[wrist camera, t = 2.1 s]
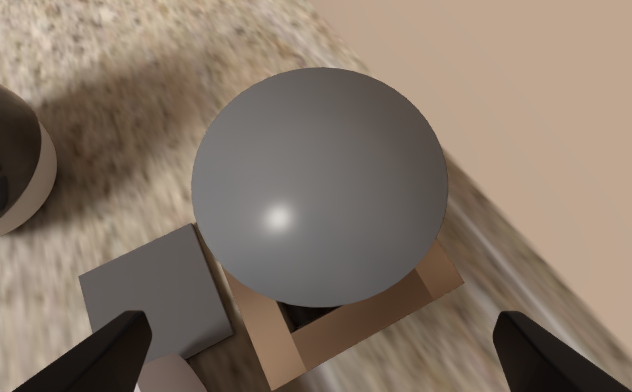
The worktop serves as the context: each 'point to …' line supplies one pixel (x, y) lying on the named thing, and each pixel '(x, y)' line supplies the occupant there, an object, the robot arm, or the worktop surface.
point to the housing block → (336, 318)
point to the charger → (168, 376)
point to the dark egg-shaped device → (22, 162)
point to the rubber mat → (162, 294)
